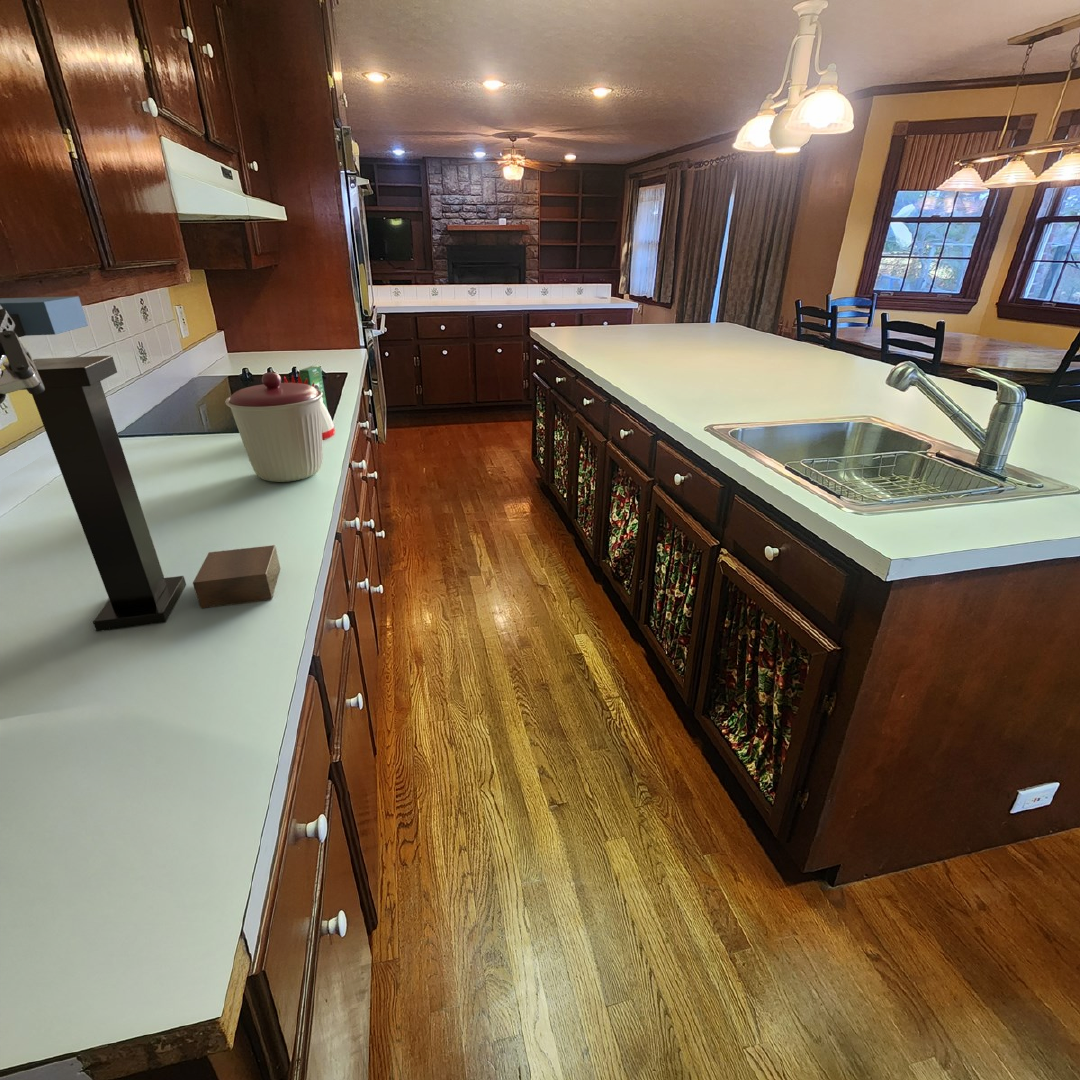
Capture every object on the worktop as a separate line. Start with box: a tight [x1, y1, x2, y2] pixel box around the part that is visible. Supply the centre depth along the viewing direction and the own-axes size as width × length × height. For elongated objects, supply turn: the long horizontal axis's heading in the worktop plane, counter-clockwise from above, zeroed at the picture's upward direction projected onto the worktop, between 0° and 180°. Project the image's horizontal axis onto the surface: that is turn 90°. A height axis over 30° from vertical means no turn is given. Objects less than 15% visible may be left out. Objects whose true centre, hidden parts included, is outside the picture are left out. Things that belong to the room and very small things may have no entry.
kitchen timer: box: [283, 374, 336, 441], centre depth 151 cm, size 14×14×15 cm
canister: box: [224, 371, 324, 483], centre depth 123 cm, size 18×18×21 cm
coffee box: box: [298, 365, 328, 409], centre depth 170 cm, size 8×3×13 cm, turn 173°
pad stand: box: [0, 355, 187, 632], centre depth 74 cm, size 8×10×32 cm
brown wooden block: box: [192, 544, 281, 609], centre depth 85 cm, size 9×9×4 cm
